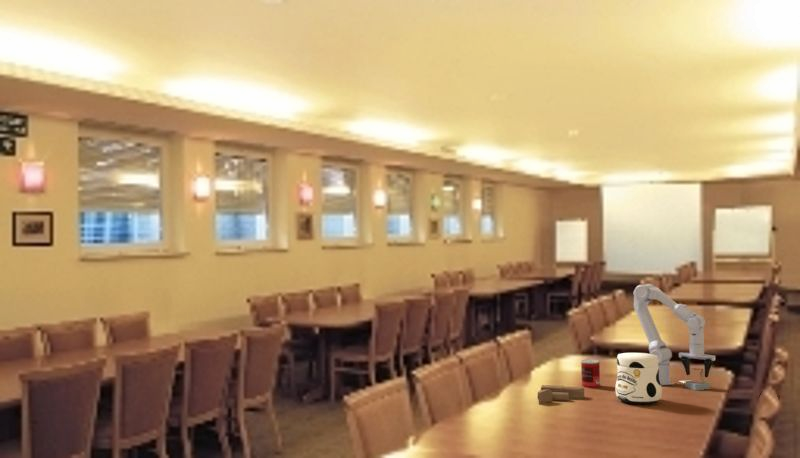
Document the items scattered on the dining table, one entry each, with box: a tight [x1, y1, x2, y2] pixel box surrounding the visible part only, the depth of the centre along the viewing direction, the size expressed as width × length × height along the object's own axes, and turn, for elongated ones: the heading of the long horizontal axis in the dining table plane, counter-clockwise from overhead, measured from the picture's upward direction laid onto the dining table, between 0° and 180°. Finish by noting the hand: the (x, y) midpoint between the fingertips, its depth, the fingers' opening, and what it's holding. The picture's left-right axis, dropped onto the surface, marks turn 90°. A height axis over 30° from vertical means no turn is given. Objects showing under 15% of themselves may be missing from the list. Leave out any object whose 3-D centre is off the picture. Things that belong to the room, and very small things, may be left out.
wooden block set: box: [537, 384, 585, 405], centre depth 281 cm, size 17×6×18 cm
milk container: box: [614, 352, 663, 405], centre depth 277 cm, size 17×17×18 cm
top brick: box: [689, 367, 705, 383], centre depth 299 cm, size 4×4×5 cm
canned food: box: [580, 358, 601, 389], centre depth 307 cm, size 8×8×11 cm
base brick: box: [684, 380, 711, 391], centre depth 299 cm, size 7×7×3 cm
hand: (697, 375), depth 299 cm, fingers open, 7 cm apart
